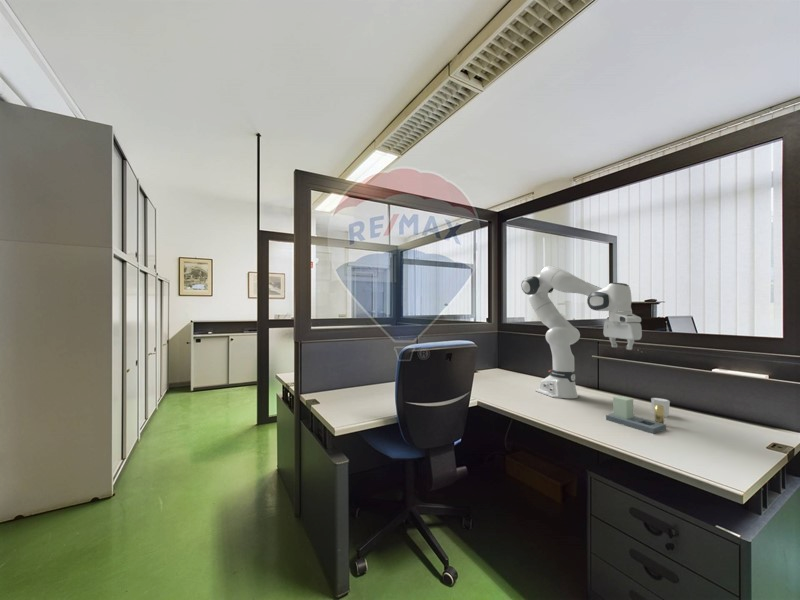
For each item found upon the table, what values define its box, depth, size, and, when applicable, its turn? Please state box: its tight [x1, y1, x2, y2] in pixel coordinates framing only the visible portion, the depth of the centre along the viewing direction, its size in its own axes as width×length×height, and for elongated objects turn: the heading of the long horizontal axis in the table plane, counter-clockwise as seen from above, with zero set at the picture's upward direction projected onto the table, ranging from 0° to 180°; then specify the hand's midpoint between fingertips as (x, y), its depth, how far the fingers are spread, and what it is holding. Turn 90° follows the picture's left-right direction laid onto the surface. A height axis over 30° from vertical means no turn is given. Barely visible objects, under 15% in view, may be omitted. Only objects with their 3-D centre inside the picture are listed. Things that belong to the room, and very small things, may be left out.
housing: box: [612, 395, 635, 419], centre depth 141 cm, size 5×5×8 cm
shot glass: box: [650, 397, 671, 418], centre depth 149 cm, size 7×7×7 cm
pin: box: [654, 405, 665, 424], centre depth 137 cm, size 3×3×8 cm
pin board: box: [605, 413, 667, 435], centre depth 137 cm, size 18×10×8 cm, turn 28°
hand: (621, 348), depth 146 cm, fingers open, 8 cm apart
